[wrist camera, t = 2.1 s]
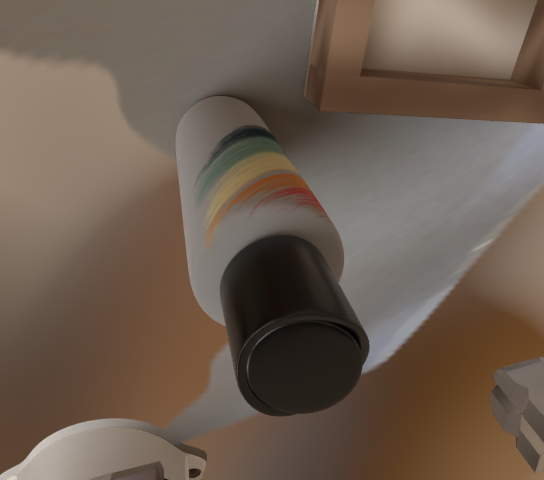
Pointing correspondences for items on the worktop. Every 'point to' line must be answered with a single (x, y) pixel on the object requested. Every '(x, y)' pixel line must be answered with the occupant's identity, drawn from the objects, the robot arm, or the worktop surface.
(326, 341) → the lotion bottle
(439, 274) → the worktop surface
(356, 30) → the brown square shallow frame
